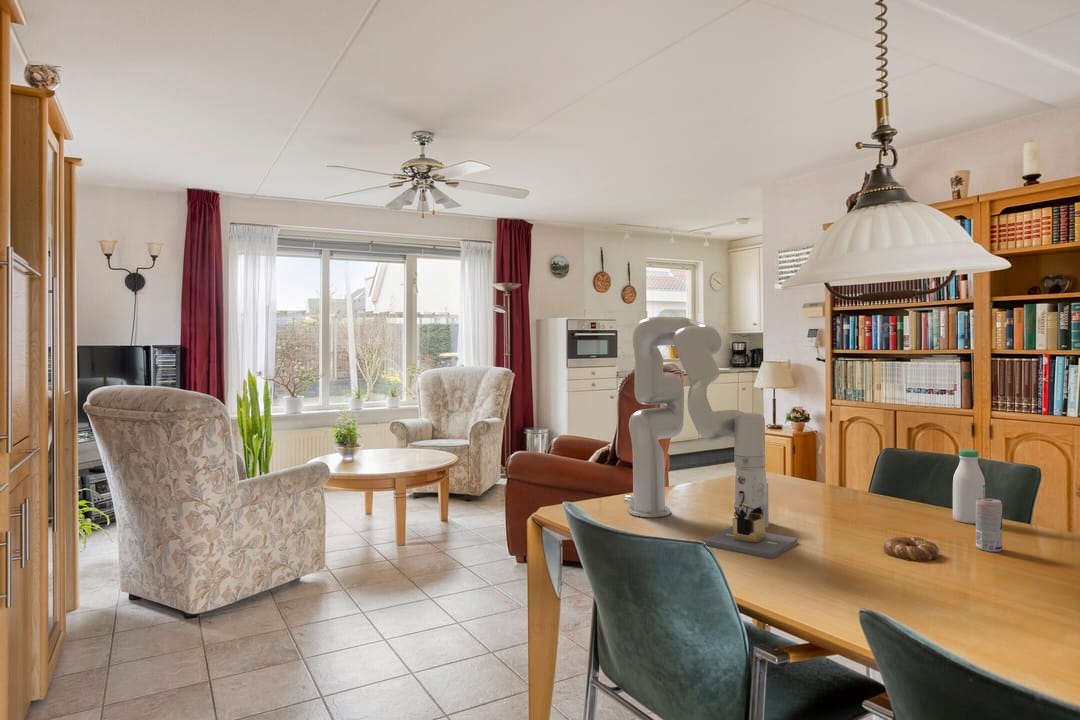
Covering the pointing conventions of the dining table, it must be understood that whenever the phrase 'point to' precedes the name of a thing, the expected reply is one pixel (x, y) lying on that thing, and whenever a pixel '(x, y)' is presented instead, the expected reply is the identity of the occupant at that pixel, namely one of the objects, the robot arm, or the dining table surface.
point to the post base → (752, 544)
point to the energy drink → (989, 524)
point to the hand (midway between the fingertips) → (750, 530)
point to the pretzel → (911, 548)
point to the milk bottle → (967, 487)
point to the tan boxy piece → (751, 528)
